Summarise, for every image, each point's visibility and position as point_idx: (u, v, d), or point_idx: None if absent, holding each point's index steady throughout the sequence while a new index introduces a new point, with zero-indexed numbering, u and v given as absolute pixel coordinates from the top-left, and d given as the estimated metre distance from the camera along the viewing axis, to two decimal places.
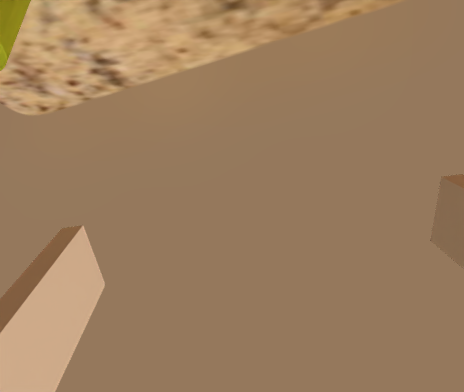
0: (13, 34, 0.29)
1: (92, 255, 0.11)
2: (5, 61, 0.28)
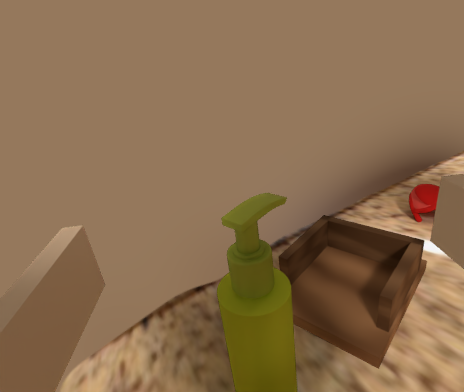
0: (256, 345, 0.23)
1: (92, 255, 0.11)
2: (241, 314, 0.22)
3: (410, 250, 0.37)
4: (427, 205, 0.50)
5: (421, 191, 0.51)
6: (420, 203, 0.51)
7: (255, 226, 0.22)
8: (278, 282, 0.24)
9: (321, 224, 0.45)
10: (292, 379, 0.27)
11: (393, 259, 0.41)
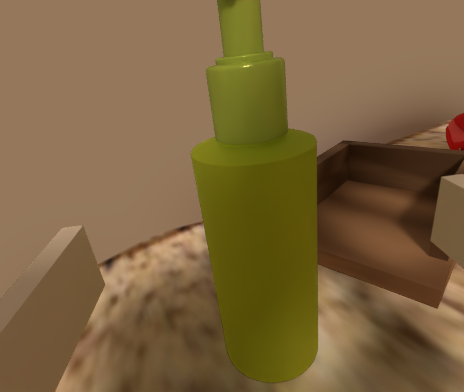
0: (257, 230, 0.13)
1: (92, 255, 0.11)
2: (230, 164, 0.12)
3: None
4: None
5: None
6: (462, 135, 0.41)
7: None
8: (294, 133, 0.14)
9: (341, 147, 0.35)
10: (313, 309, 0.17)
11: (439, 184, 0.31)
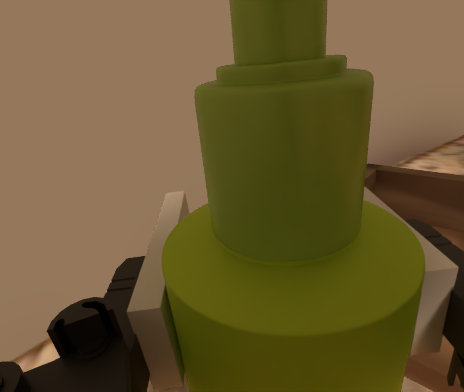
0: None
1: None
2: (246, 325, 0.05)
3: None
4: None
5: None
6: None
7: None
8: (369, 219, 0.07)
9: (367, 174, 0.28)
10: None
11: None
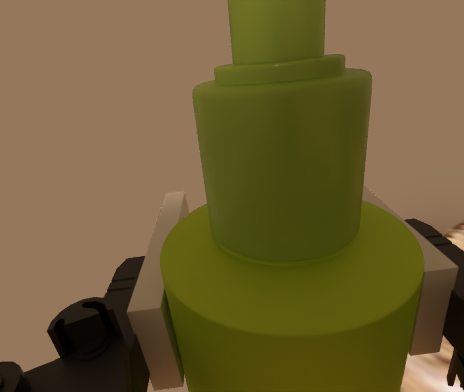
0: None
1: None
2: (244, 326, 0.05)
3: None
4: None
5: None
6: None
7: None
8: (368, 219, 0.07)
9: None
10: None
11: None
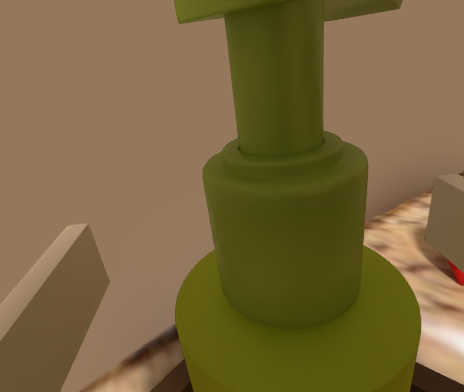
0: None
1: (97, 253, 0.12)
2: None
3: None
4: None
5: None
6: None
7: (319, 27, 0.05)
8: (368, 273, 0.08)
9: None
10: None
11: None
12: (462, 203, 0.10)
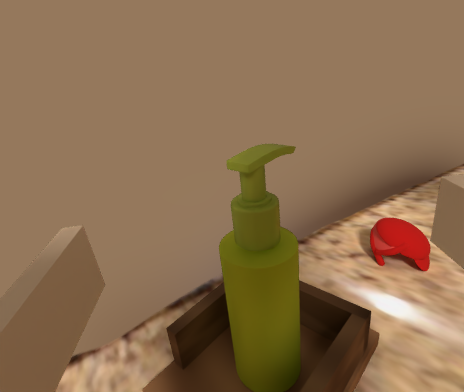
0: (260, 302, 0.22)
1: (92, 255, 0.11)
2: (245, 266, 0.21)
3: (348, 329, 0.26)
4: (390, 247, 0.39)
5: (384, 228, 0.40)
6: (382, 243, 0.40)
7: (262, 171, 0.20)
8: (284, 238, 0.23)
9: None
10: (296, 346, 0.25)
11: (332, 331, 0.29)
12: None
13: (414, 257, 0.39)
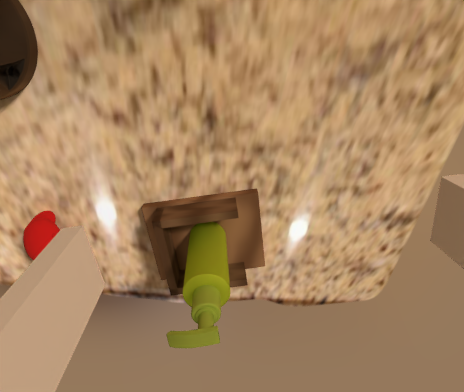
0: (222, 264, 0.40)
1: (92, 255, 0.11)
2: (226, 283, 0.38)
3: (173, 223, 0.44)
4: None
5: None
6: None
7: (203, 325, 0.33)
8: (194, 286, 0.37)
9: None
10: (202, 235, 0.45)
11: None
12: None
13: (54, 224, 0.47)
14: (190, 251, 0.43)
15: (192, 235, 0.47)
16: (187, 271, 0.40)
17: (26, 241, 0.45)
